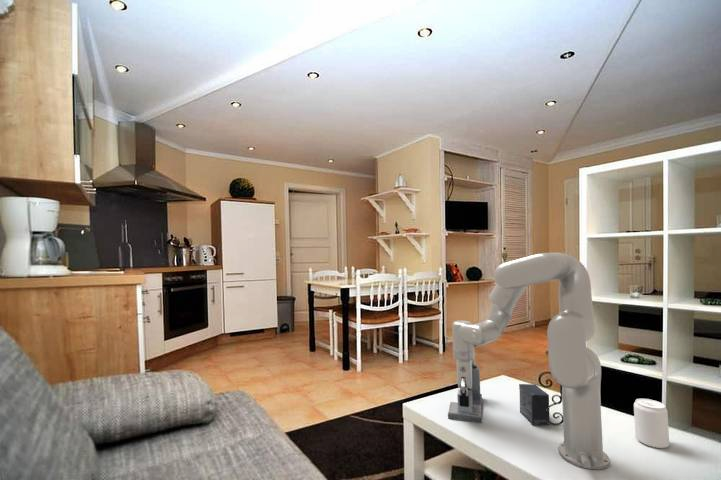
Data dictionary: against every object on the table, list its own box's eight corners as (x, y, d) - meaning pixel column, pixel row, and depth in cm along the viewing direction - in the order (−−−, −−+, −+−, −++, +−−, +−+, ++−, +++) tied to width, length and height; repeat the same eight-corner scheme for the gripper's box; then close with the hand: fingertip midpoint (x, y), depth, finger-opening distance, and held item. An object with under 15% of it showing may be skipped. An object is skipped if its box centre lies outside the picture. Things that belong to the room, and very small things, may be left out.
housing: (472, 412, 127) (471, 392, 127) (457, 410, 129) (457, 391, 129) (472, 406, 132) (471, 387, 132) (458, 405, 133) (458, 386, 134)
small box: (551, 425, 120) (550, 394, 121) (532, 425, 120) (531, 394, 121) (536, 411, 131) (535, 383, 131) (519, 412, 131) (518, 383, 131)
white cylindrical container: (656, 451, 103) (654, 410, 104) (629, 438, 111) (627, 399, 112) (676, 447, 106) (674, 406, 106) (648, 434, 113) (646, 396, 114)
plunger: (479, 376, 140) (477, 343, 141) (467, 375, 142) (465, 343, 142) (479, 373, 145) (478, 341, 145) (467, 372, 146) (466, 340, 147)
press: (481, 423, 123) (480, 385, 123) (448, 418, 127) (447, 382, 127) (481, 397, 144) (480, 365, 145) (453, 394, 148) (452, 363, 148)
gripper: (473, 362, 122) (475, 412, 121) (474, 349, 138) (475, 393, 137) (451, 360, 124) (452, 409, 123) (454, 347, 140) (456, 391, 140)
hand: (464, 400), depth 130 cm, fingers open, 9 cm apart
